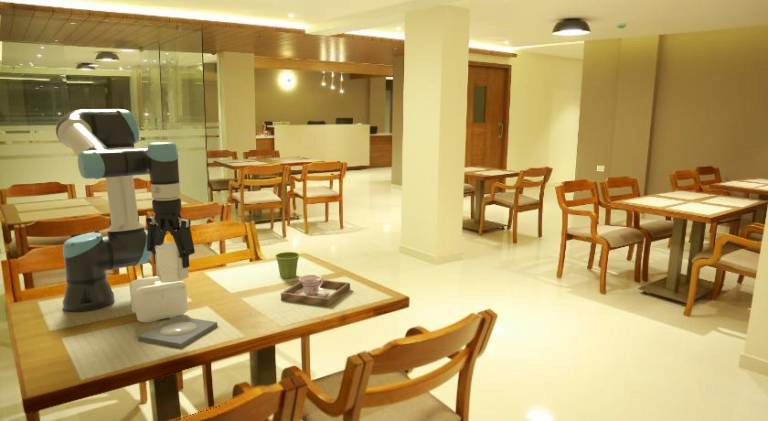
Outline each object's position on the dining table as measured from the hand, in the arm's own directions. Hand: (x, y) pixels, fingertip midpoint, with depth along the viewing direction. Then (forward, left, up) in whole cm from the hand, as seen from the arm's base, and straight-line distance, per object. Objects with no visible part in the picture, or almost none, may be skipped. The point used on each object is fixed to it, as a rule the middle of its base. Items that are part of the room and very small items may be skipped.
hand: (172, 276), depth 153 cm
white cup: (0, 0, -1) cm, 1 cm away
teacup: (+21, +43, -18) cm, 51 cm away
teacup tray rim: (+23, +44, -17) cm, 52 cm away
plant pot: (+3, +59, -17) cm, 61 cm away
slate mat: (0, +1, -17) cm, 17 cm away
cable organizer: (-15, +10, -18) cm, 25 cm away
